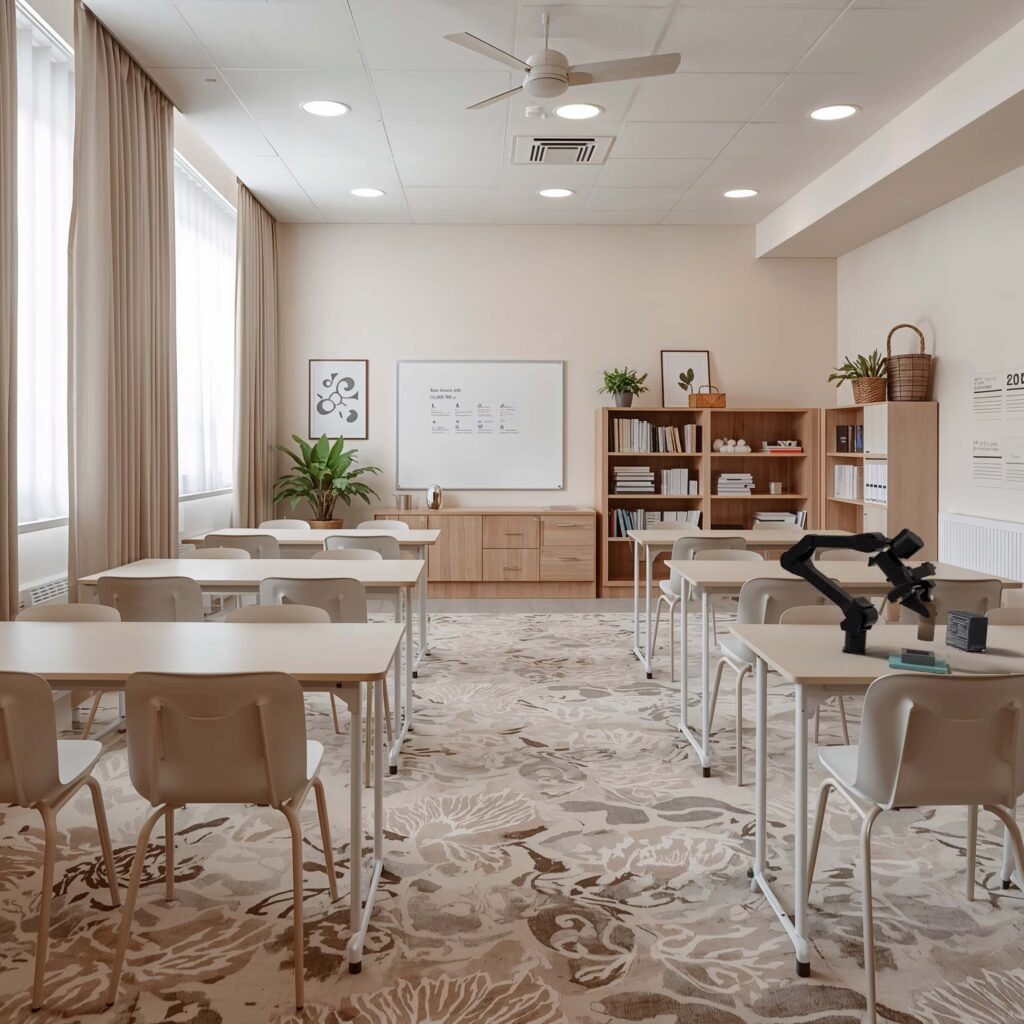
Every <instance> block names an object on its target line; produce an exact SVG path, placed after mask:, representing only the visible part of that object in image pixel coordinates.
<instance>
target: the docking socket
mask: <svg viewBox="0 0 1024 1024" xmlns="http://www.w3.org/2000/svg"><path fill="white" fill-rule="evenodd" d="M900 650H901V652H900V654H897V653H889V654H888V668H889V667H894V668H893V669H897V668H901V669H900V670H906V669H909V670H908V671H916V672H924V673H931V672H935V673H934V674H940V673H949V671H948V667H947V663H946V660H945V659H943V658H936V656H935V652H934V651H931V650H923V649H916V648H915V649H914V648H907V647H906V648H905V647H901V649H900Z"/></svg>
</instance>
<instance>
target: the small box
mask: <svg viewBox="0 0 1024 1024" xmlns="http://www.w3.org/2000/svg"><path fill="white" fill-rule="evenodd" d="M988 627H989V617H988V616H984V615H981V614H977V613H973V612H970V611H967V610H965V611H964V610H963V611H962V610H947V622H946V633H945V642H944V644H945V643H946V644H948V645H951V646H953V647H952V648H954V647H956V648H955V649H957V648H959V649H958V650H960V649H962V650H961V651H963V650H966V651H982V650H986V651H987V639H988ZM948 645H947V646H948ZM951 646H950V647H951ZM966 651H965V652H966Z"/></svg>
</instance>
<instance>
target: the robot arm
mask: <svg viewBox="0 0 1024 1024" xmlns="http://www.w3.org/2000/svg"><path fill="white" fill-rule="evenodd" d="M924 547H925V543H924V541H923V539H922V538H921V537H920V536H919V535H917V534H916V533H915V532H913V531H911V530H910V529H909V528H908V527H907V528H906V527H905V528H903V529H901V530H900V532H899V533H898V534H897V535H896V536H895V537H893V538H889V537H886V536H885V535H884V534H883V532H880V531H875V532H874V531H870V532H862V533H856V534H850V535H849V534H847V535H846V534H845V535H842V534H839V535H838V534H817V533H809V534H805V535H804V536H803V537H802V538H801V539H800V540H799V541H798V542H796V543H795V544H794V545H792V546H790V548H789V549H788V550H787V551H784V552H783V553H782V554H781V555H780V557H779V565H780V567H781V568H782V569H783V570H785V571H787V572H788V573H790V574H792V575H795V576H797V577H800V578H802V579H804V580H805V581H806V582H808V583H809V584H810V585H811V586H812V587H814V588H815V589H816V590H818V592H820V593H821V594H823V596H825V597H826V598H827V599H829V600H830V601H831V602H833V603H834V604H835V605H836V606H838V607H839V608H840V610H841V611H842V614H843V617H845V618H844V619H843V620H841V621H840V622H839V627H840V630H841V631H843V632H844V644H843V645H844V646H842V650H841V651H842V653H849V654H857V655H865V654H866V655H867V654H868V649H867V635H868V631H870V630H872V627H873V626H874V625H875V624H876V623H877V622H878V620H879V611H878V609H877V608H876V607H875V604H874V603H871V602H870V601H869V600H868V599H867V598H866V597H865V596H858V597H857V596H856V597H854V596H853V595H850V594H849V593H848V592H847V591H846V590H844V588H842V587H840V586H839V585H838V584H836V583H835V581H833V580H831V579H830V578H829V577H828V576H826V575H825V574H824V573H823V572H821V571H820V570H819V569H818V568H817V567H816V566H815V564H814V562H813V561H812V559H811V558H812V557H813V555H815V552H816V549H817V548H828V549H831V548H832V549H850V550H853V551H855V552H860V553H865V554H871V553H872V554H873V553H877V554H876V555H874V556H869V557H868V562H867V567H870V568H872V567H876V566H877V567H878V569H880V571H881V572H882V573H883V575H884V576H885V577H886V579H885V581H886V582H887V583H891V584H892V586H893V588H892V589H891V590H890V591H888V593H887V595H886V599H887V600H888V601H889V603H890V604H896V603H898V599H900V600H901V601H900V602H899V603H898V604H899V606H903V607H905V608H908V609H909V610H912V611H913V612H915V613H916V614H918V615H919V614H920V615H922V616H924V617H926V618H929V617H930V616H931V615H930V613H929V612H928V610H927V608H926V607H925V605H924V604H923V602H933V600H932V598H931V593H932V591H933V589H934V588H935V587H936V586H937V584H936V583H935V581H934V580H933V579H931V578H927V577H930V576H932V577H933V576H936V575H937V573H936V569H937V567H936V566H935V565H934V564H933V563H931V562H930V561H925V562H921V563H920V565H919V566H917V567H916V566H915V567H911V565H905V564H904V562H903V561H902V560H903V559H904V560H909V559H910V558H912V557H913V556H914V555H915V554H917V553H918V552H919V551H920V550H921V549H922V548H924ZM886 548H888V549H887V550H886V551H884V550H885V549H886ZM924 578H925V579H924ZM937 615H938V612H937V611H936V616H937Z"/></svg>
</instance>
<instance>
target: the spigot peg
mask: <svg viewBox="0 0 1024 1024" xmlns="http://www.w3.org/2000/svg"><path fill="white" fill-rule="evenodd" d="M923 604H924V605H925V607H926V608H927V610H928V612H929V613H930V615H931V616H930V617H929V618H926V617H924V616H922V615H920V614H918V627H917V635H916V636H917V638H916V639H917V640H918V641H921V642H935V641H934V640H935V627H936V617H937V615H936V612H937V603H936V602H933V601H932V602H923Z"/></svg>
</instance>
